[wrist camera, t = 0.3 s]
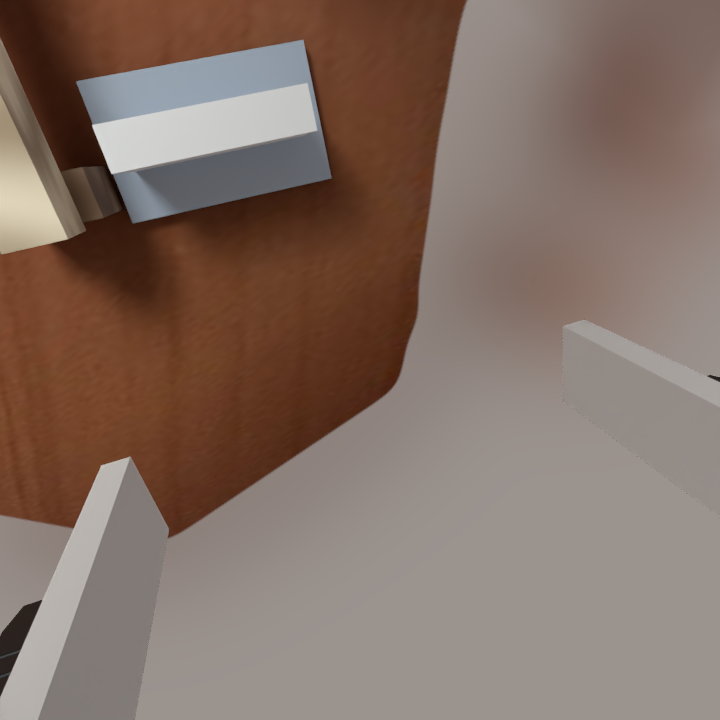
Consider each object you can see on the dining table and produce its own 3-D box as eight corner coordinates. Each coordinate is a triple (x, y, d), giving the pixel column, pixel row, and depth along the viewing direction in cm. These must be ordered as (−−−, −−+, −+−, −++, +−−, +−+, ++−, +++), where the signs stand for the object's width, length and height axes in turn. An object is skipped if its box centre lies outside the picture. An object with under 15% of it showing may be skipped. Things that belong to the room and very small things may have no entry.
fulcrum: (80, 83, 30) (32, 59, 23) (301, 43, 32) (319, 9, 25) (135, 221, 34) (108, 238, 27) (329, 177, 36) (352, 182, 29)
